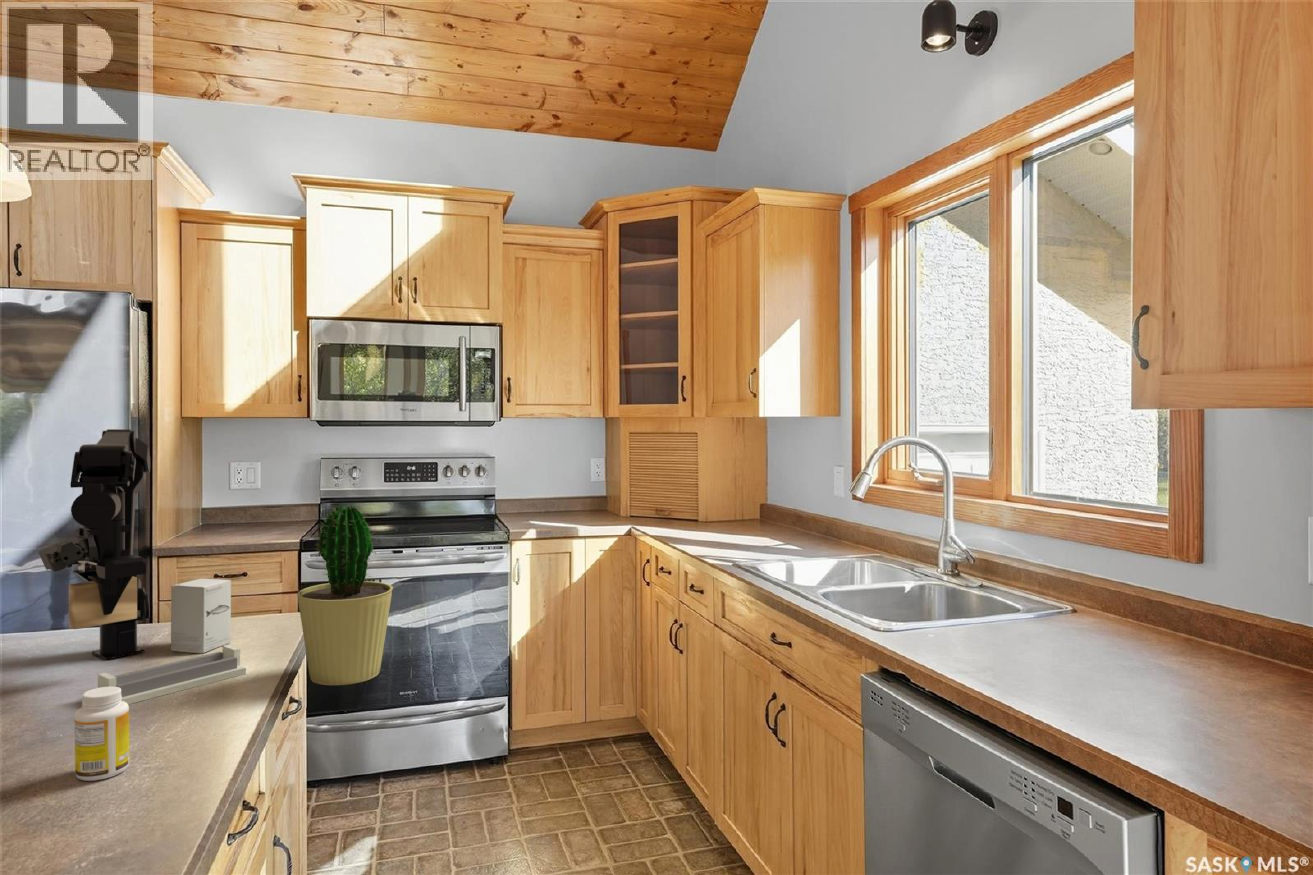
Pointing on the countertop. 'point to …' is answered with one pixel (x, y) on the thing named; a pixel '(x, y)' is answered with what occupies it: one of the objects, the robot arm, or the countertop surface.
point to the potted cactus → (345, 605)
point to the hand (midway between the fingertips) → (104, 613)
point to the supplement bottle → (101, 734)
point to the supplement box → (200, 615)
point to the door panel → (99, 605)
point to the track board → (175, 675)
